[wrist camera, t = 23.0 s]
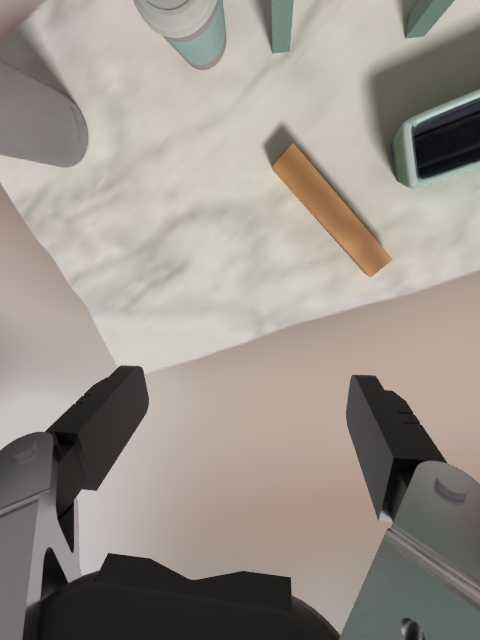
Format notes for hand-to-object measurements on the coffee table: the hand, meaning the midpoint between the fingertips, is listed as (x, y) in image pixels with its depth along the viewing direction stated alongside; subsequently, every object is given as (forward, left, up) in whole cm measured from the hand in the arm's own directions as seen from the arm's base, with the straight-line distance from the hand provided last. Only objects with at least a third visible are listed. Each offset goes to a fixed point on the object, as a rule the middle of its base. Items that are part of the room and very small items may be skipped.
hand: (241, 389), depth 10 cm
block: (+9, +6, -34) cm, 36 cm away
